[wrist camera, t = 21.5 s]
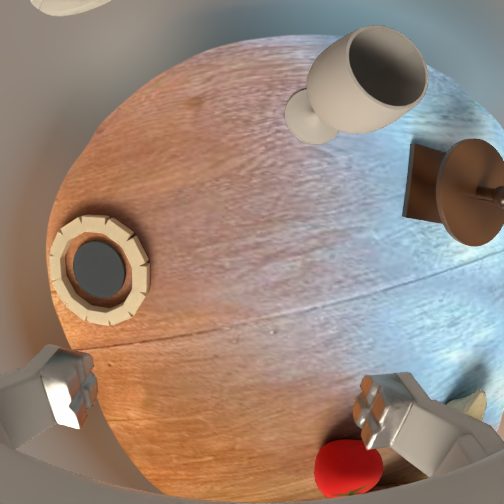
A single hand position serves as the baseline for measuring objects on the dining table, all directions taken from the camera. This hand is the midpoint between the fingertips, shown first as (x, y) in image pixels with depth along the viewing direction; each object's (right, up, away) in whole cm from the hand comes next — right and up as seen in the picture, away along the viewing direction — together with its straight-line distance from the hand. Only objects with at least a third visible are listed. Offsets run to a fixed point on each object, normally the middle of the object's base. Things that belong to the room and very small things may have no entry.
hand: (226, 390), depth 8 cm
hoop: (-20, +1, +31) cm, 37 cm away
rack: (+26, +13, +30) cm, 42 cm away
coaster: (-20, +2, +31) cm, 37 cm away
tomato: (+18, -34, +42) cm, 56 cm away
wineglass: (+8, +20, +27) cm, 35 cm away
